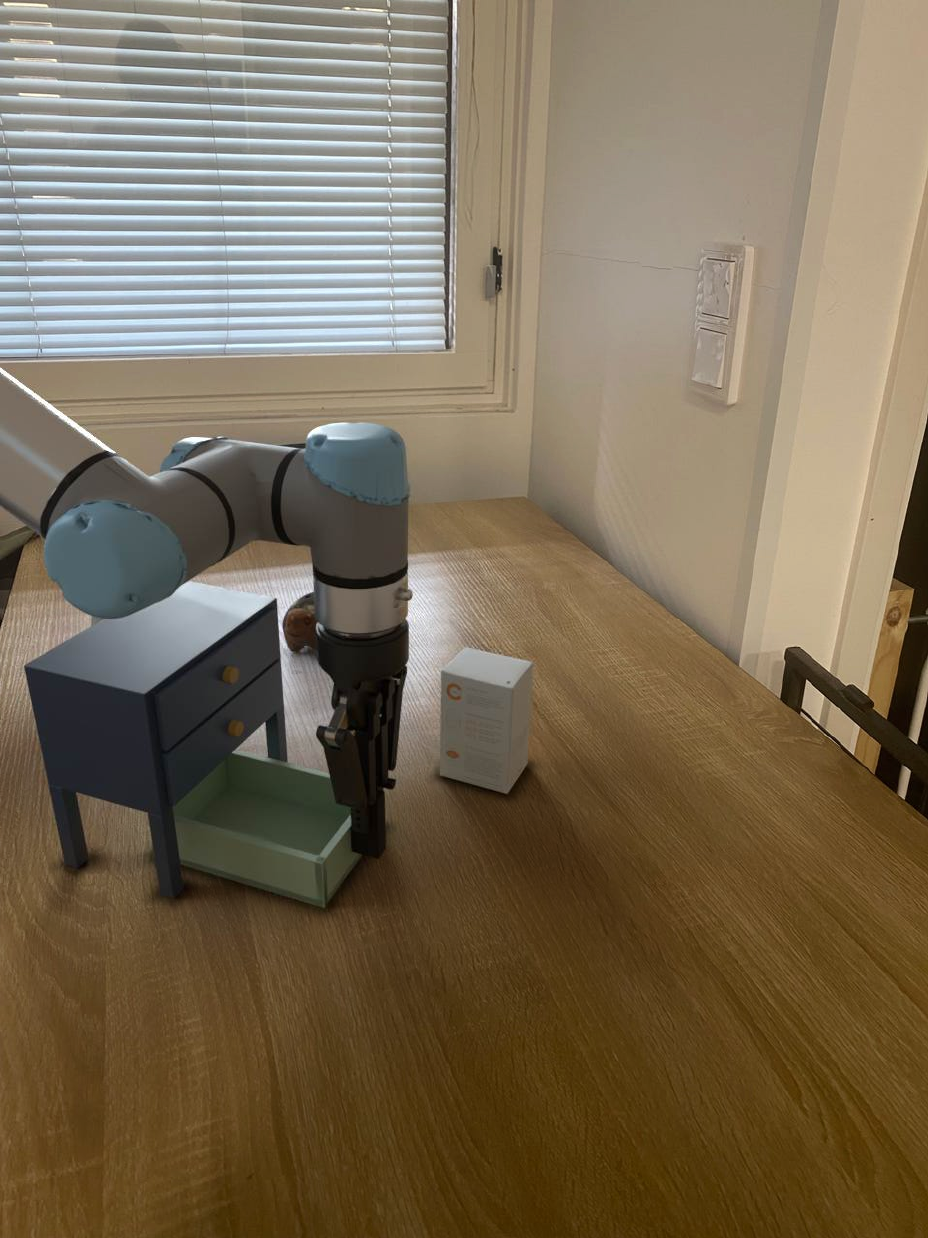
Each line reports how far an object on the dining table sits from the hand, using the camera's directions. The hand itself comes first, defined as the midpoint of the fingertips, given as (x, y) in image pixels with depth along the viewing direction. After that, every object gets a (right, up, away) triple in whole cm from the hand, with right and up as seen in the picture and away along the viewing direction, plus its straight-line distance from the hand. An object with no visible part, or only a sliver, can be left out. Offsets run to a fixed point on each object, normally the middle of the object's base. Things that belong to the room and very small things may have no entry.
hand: (369, 850), depth 84 cm
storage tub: (-10, 0, +4) cm, 11 cm away
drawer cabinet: (-19, +2, +7) cm, 20 cm away
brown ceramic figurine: (-11, +17, +41) cm, 46 cm away
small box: (+11, +5, +16) cm, 20 cm away
